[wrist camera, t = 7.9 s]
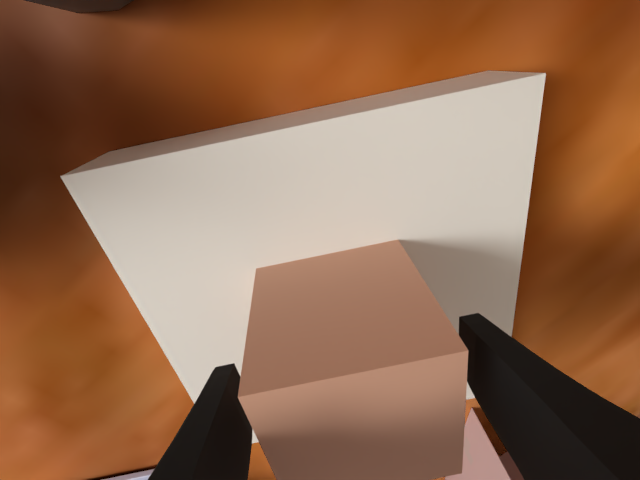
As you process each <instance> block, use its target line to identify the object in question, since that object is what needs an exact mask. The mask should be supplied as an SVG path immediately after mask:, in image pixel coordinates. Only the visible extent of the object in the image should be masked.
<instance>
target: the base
mask: <svg viewBox="0 0 640 480" xmlns="http://www.w3.org/2000/svg"><path fill="white" fill-rule="evenodd" d="M545 77H546V73H532V72H509V71H484V72H480V73H475V74H470V75H466V76H461V77H456V78H452V79H447V80H442V81H437V82H433V83H428V84H423V85H419V86H414V87H409V88H405V89H400V90H395V91H391V92H386V93H381V94H376V95H372V96H367V97H362V98H358V99H353V100H348V101H344V102H339V103H334V104H330V105H325V106H320V107H315V108H311V109H306V110H301V111H297V112H292V113H287V114H283V115H278V116H273V117H269V118H264V119H259V120H254V121H250V122H245V123H240V124H236V125H231V126H226V127H222V128H217V129H212V130H208V131H203V132H198V133H193V134H189V135H184V136H179V137H175V138H170V139H165V140H161V141H156V142H151V143H147V144H142V145H137V146H132V147H128V148H123V149H118V150H114V151H109V152H107V153H105V154H103V155H101V156H99V157H98V158H96V159H94V160H92V161H90V162H88V163H86V164H84V165H82V166H80V167H78V168H76V169H74V170H72V171H70V172H68V173H66V174H64V175H62V176H60V177H61V179H62V180H63V182H64V184H65V185H66V187H67V189H68V190H69V192H70V194H71V196H72V197H73V199H74V201H75V202H76V204H77V206H78V207H79V209H80V211H81V213H82V214H83V216H84V218H85V219H86V221H87V223H88V224H89V226H90V228H91V229H92V231H93V233H94V235H95V236H96V238H97V240H98V241H99V243H100V245H101V246H102V248H103V250H104V251H105V253H106V255H107V257H108V258H109V260H110V262H111V263H112V265H113V267H114V268H115V270H116V272H117V273H118V275H119V277H120V279H121V280H122V282H123V284H124V285H125V287H126V289H127V290H128V292H129V294H130V295H131V297H132V299H133V301H134V302H135V304H136V306H137V307H138V309H139V311H140V312H141V314H142V316H143V317H144V319H145V321H146V323H147V324H148V326H149V328H150V329H151V331H152V333H153V334H154V336H155V338H156V339H157V341H158V343H159V345H160V346H161V348H162V350H163V351H164V353H165V355H166V356H167V358H168V360H169V362H170V363H171V365H172V367H173V368H174V370H175V372H176V373H177V375H178V377H179V378H180V380H181V382H182V384H183V385H184V387H185V389H186V390H187V392H188V394H189V395H190V397H191V399H192V400H193V402H194V404H195V402H196V400H197V398H198V397H199V395H200V393H201V391H202V389H203V388H204V386H205V384H206V382H207V380H208V379H209V377H210V375H211V373H212V371H213V370H214V368H215V367H218V366H223V365H228V364H233V363H234V364H235V366H236V368H237V370H238V373H239V375H240V377H241V370H242V363H243V356H244V349H245V342H246V335H247V328H248V321H249V314H250V307H251V300H252V293H253V287H254V280H255V273H256V268H261V267H266V266H271V265H276V264H281V263H286V262H291V261H295V260H300V259H305V258H310V257H315V256H320V255H325V254H330V253H335V252H339V251H344V250H349V249H354V248H359V247H364V246H369V245H374V244H378V243H383V242H388V241H393V240H399V242H400V243H401V245H402V246H403V248H404V249H405V251H406V253H407V254H408V256H409V257H410V259H411V261H412V262H413V264H414V265H415V267H416V268H417V270H418V272H419V273H420V275H421V276H422V278H423V279H424V281H425V283H426V284H427V286H428V287H429V289H430V291H431V292H432V294H433V295H434V297H435V298H436V300H437V302H438V303H439V305H440V306H441V308H442V310H443V311H444V313H445V314H446V316H447V317H448V319H449V321H450V322H451V324H452V325H453V327H454V328H455V330H456V332H457V333H458V335H459V317H460V316H465V315H470V314H475V313H479V314H481V315H482V316H484V317H485V318H486V319H488V320H489V321H490V322H492V323H493V324H495V325H496V326H497V327H499V328H500V329H501V330H503V331H504V332H505V333H507V334H508V335H509V336H511V337H512V329H513V322H514V314H515V306H516V299H517V291H518V283H519V276H520V268H521V261H522V253H523V245H524V238H525V230H526V222H527V215H528V207H529V199H530V192H531V184H532V176H533V169H534V161H535V154H536V146H537V138H538V131H539V123H540V115H541V108H542V100H543V92H544V85H545ZM471 398H475V396H474V395H473V393H472V391H471V389H470V387H469V384H468V382H467V388H466V399H471ZM256 442H259V441H258V439H257V437H256V435H255V433H254V431H253V429H252V443H256Z"/></svg>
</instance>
